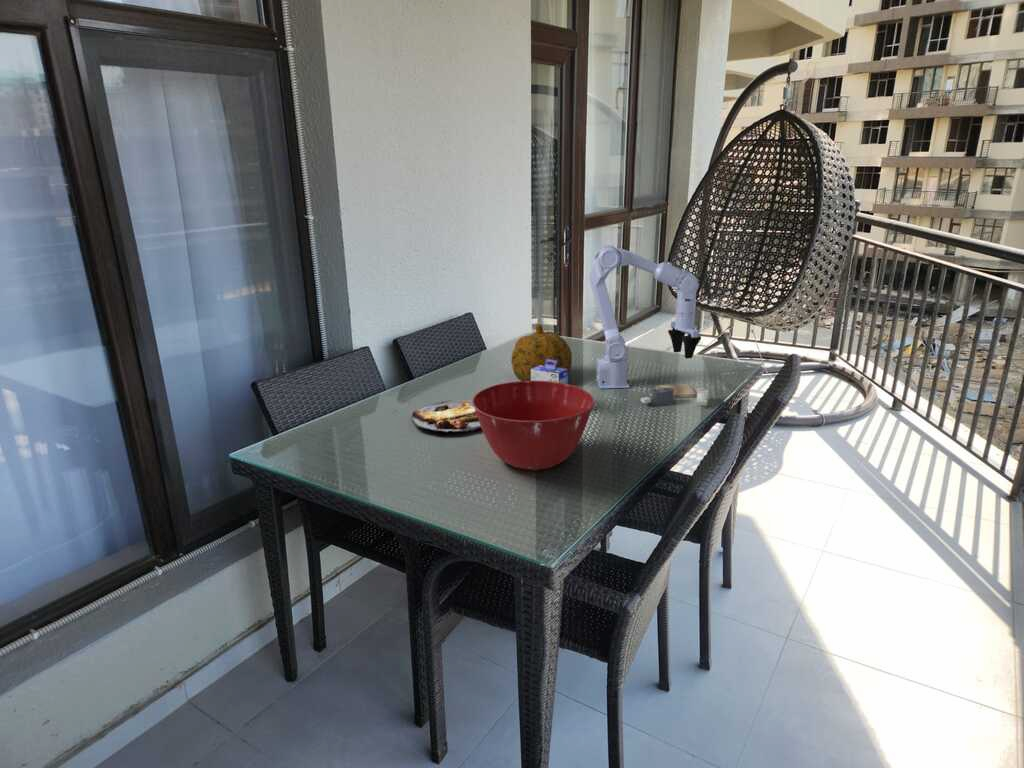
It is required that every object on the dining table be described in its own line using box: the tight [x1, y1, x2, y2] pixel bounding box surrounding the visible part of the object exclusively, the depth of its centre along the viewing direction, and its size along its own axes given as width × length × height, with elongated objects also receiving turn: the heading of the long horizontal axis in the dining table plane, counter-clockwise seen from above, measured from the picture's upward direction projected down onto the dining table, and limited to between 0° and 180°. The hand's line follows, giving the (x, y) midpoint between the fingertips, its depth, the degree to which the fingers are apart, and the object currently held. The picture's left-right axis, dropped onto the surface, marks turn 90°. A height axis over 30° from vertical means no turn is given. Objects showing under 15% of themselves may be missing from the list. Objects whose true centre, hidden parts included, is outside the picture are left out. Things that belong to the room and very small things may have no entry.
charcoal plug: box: [640, 388, 675, 407], centre depth 189 cm, size 10×3×4 cm, turn 112°
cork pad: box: [655, 383, 697, 399], centre depth 198 cm, size 10×10×1 cm
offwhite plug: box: [695, 387, 709, 408], centre depth 188 cm, size 9×3×4 cm, turn 167°
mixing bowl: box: [471, 380, 595, 471], centre depth 152 cm, size 28×28×16 cm
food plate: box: [410, 399, 482, 434], centre depth 180 cm, size 25×23×4 cm
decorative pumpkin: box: [510, 323, 573, 381], centre depth 212 cm, size 20×21×20 cm
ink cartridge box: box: [531, 359, 569, 384], centre depth 186 cm, size 10×6×14 cm, turn 55°
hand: (682, 354), depth 202 cm, fingers open, 7 cm apart
